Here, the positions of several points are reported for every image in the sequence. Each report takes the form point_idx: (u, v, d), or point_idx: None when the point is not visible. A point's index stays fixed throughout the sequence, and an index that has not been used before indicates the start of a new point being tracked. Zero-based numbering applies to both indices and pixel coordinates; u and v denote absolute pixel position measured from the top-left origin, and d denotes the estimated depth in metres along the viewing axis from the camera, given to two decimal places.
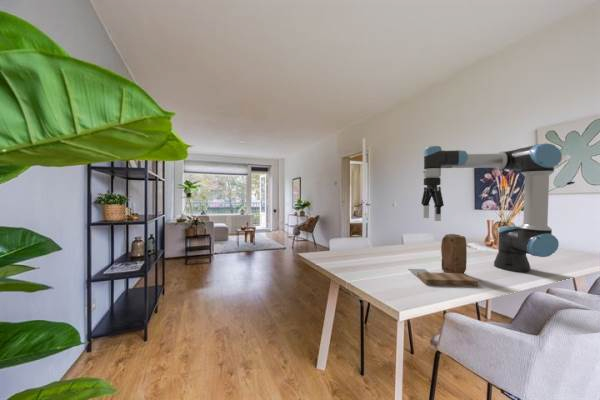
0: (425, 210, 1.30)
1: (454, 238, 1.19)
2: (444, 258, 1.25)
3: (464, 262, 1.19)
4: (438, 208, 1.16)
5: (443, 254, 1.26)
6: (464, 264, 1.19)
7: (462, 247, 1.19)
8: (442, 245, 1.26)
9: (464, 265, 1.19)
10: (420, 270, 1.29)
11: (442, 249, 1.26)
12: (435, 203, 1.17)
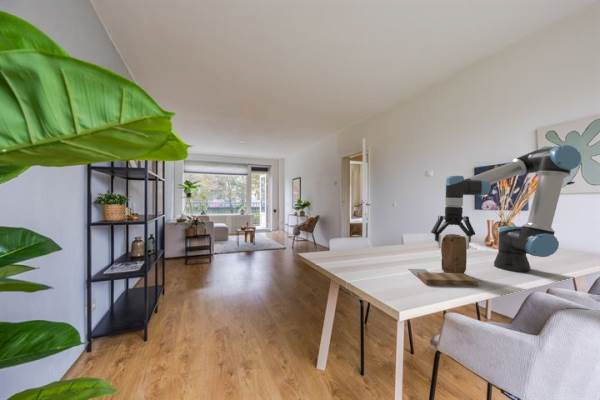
0: None
1: (454, 238, 1.19)
2: (444, 258, 1.25)
3: (464, 262, 1.19)
4: (435, 235, 1.25)
5: (443, 254, 1.26)
6: (464, 264, 1.19)
7: (461, 247, 1.19)
8: (442, 245, 1.26)
9: (464, 265, 1.19)
10: (420, 270, 1.29)
11: (442, 249, 1.26)
12: None
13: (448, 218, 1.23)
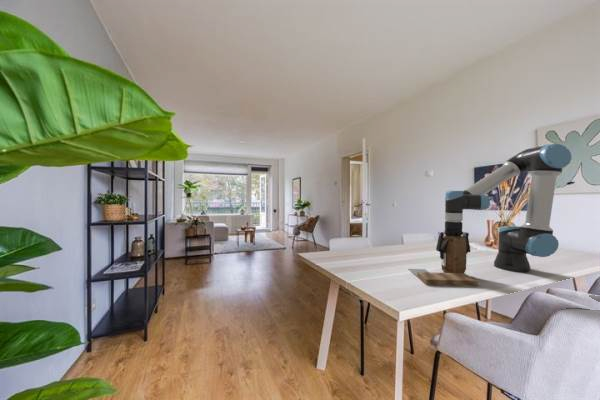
0: None
1: (454, 238, 1.19)
2: None
3: (464, 262, 1.19)
4: (440, 253, 1.25)
5: None
6: (464, 264, 1.19)
7: (461, 247, 1.19)
8: None
9: (464, 265, 1.19)
10: (420, 270, 1.29)
11: None
12: None
13: (448, 233, 1.23)
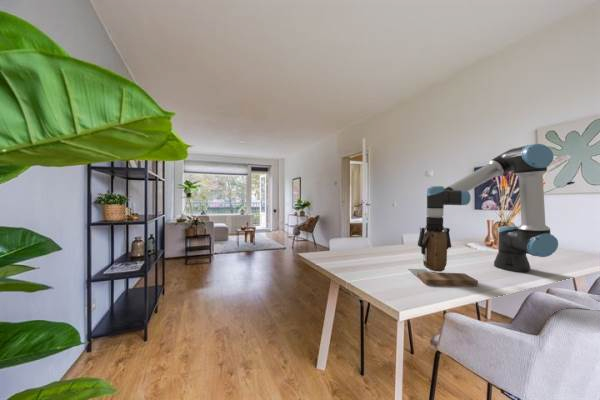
0: None
1: (434, 233, 1.20)
2: None
3: (444, 257, 1.20)
4: (421, 248, 1.25)
5: None
6: (444, 259, 1.20)
7: (442, 242, 1.19)
8: (423, 240, 1.27)
9: (444, 260, 1.20)
10: (420, 270, 1.29)
11: None
12: (422, 243, 1.26)
13: (429, 228, 1.23)
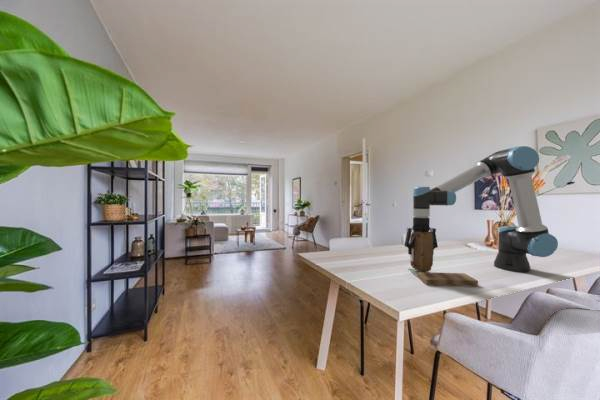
0: None
1: (420, 233, 1.21)
2: None
3: (430, 257, 1.20)
4: (408, 249, 1.26)
5: None
6: (430, 259, 1.20)
7: (428, 243, 1.20)
8: (410, 240, 1.28)
9: (430, 260, 1.20)
10: None
11: None
12: (409, 244, 1.27)
13: (416, 228, 1.24)
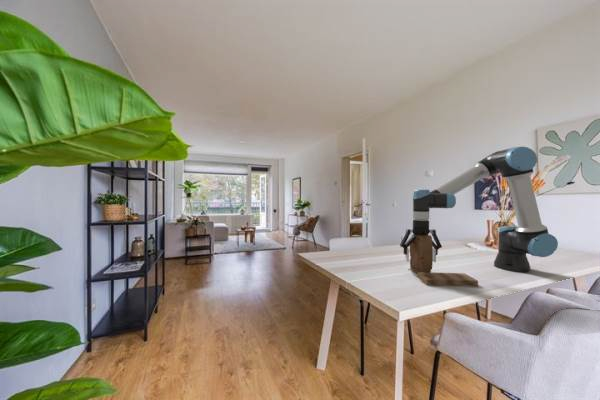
0: None
1: (420, 237, 1.21)
2: (412, 257, 1.26)
3: (430, 261, 1.20)
4: None
5: (411, 253, 1.27)
6: (430, 262, 1.20)
7: (427, 246, 1.20)
8: (410, 244, 1.28)
9: (430, 264, 1.20)
10: None
11: (410, 248, 1.28)
12: (405, 244, 1.27)
13: (415, 231, 1.24)
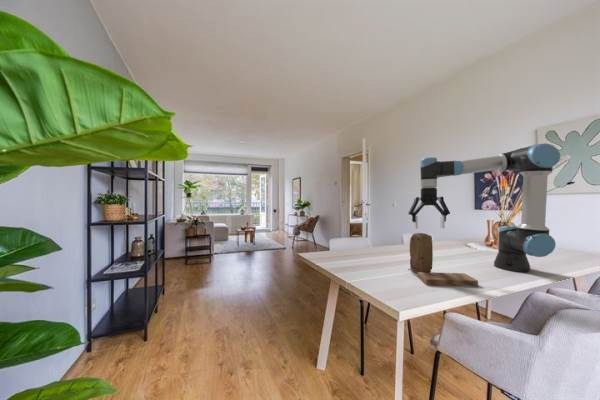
0: (440, 220, 1.28)
1: (420, 237, 1.21)
2: (412, 257, 1.26)
3: (430, 261, 1.20)
4: (412, 216, 1.29)
5: (411, 253, 1.27)
6: (430, 262, 1.20)
7: (427, 246, 1.20)
8: (410, 244, 1.28)
9: (430, 264, 1.20)
10: None
11: (410, 248, 1.28)
12: None
13: (424, 199, 1.27)
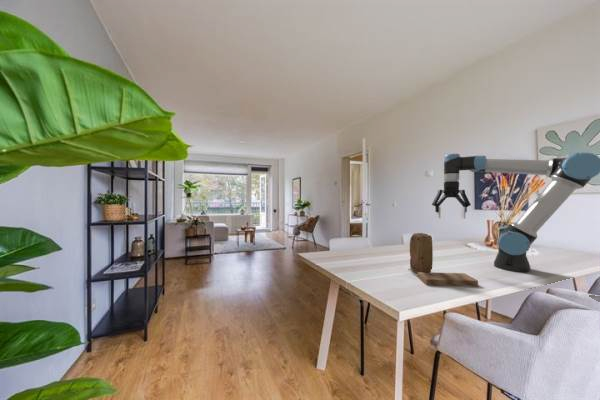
0: (461, 211, 1.41)
1: (420, 237, 1.21)
2: (412, 257, 1.26)
3: (430, 261, 1.20)
4: (435, 207, 1.42)
5: (411, 253, 1.27)
6: (430, 262, 1.20)
7: (427, 246, 1.20)
8: (410, 244, 1.28)
9: (430, 264, 1.20)
10: None
11: (410, 248, 1.28)
12: None
13: (446, 191, 1.40)
